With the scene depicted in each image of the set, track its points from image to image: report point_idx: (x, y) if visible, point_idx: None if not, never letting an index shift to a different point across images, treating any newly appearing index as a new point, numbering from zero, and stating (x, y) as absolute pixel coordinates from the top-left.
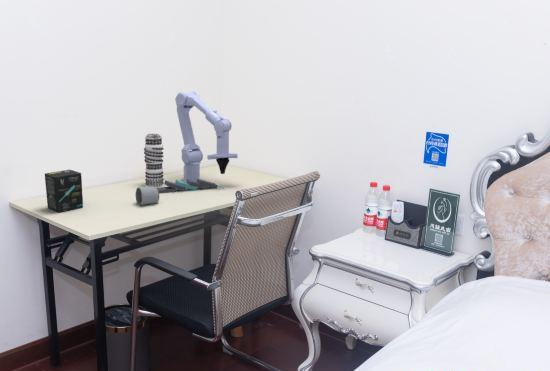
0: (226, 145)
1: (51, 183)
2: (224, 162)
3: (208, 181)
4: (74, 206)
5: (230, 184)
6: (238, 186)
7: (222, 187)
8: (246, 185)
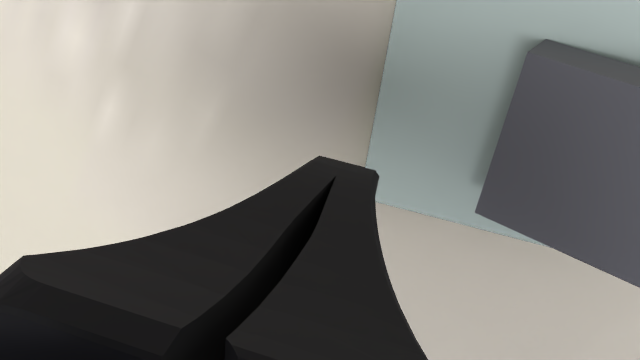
0: None
1: None
2: (222, 316)
3: (580, 260)
4: None
5: (213, 169)
6: (156, 25)
7: (416, 55)
8: (41, 16)
